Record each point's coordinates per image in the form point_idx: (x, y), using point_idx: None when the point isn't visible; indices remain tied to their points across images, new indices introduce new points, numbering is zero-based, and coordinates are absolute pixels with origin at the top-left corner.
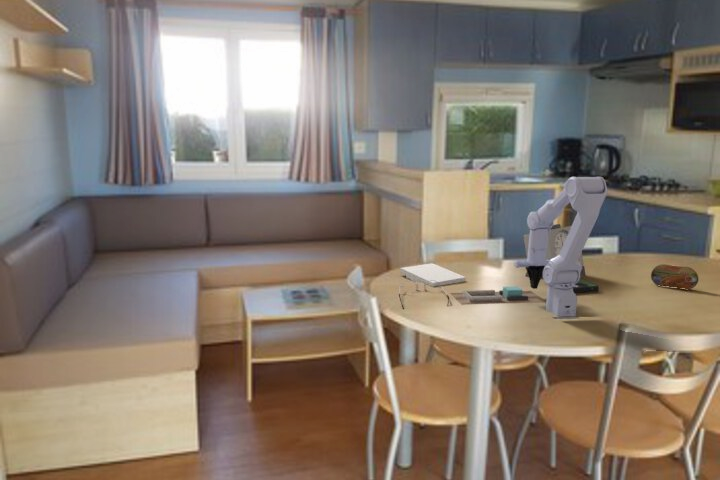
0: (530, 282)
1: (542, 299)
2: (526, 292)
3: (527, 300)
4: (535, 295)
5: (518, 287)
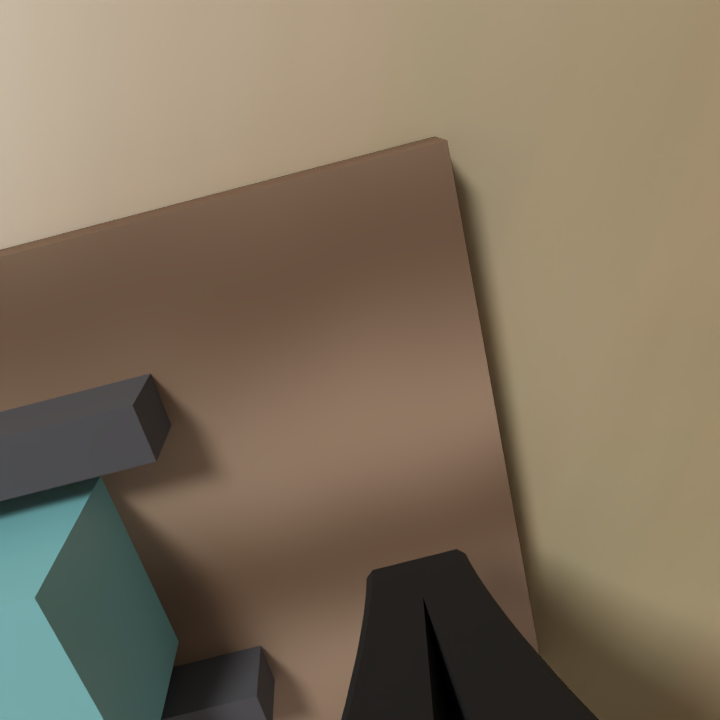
0: (362, 666)
1: (512, 618)
2: (321, 282)
3: None
4: (457, 440)
5: (64, 664)
